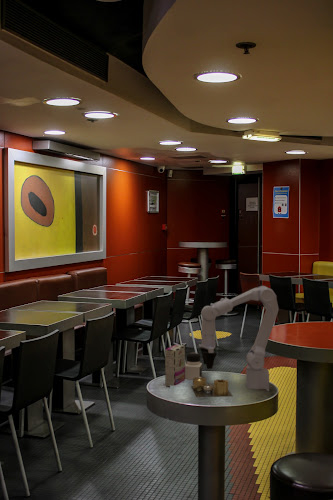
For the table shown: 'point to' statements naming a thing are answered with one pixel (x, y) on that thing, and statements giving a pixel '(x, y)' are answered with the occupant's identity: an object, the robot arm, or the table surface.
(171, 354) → the candy bar box
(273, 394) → the table surface
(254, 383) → the robot arm
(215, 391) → the gear
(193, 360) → the medicine bottle
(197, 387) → the plate
